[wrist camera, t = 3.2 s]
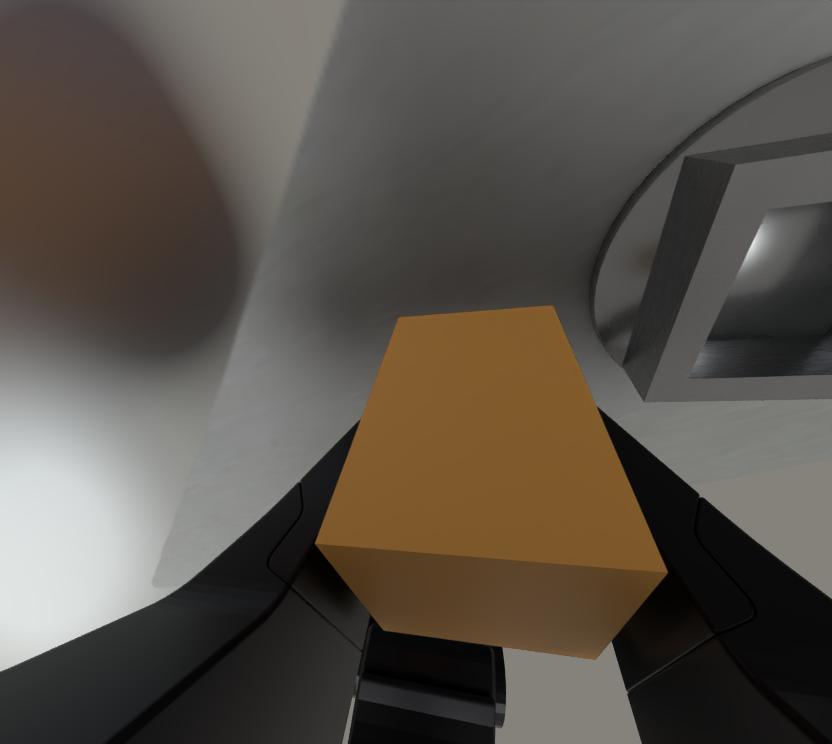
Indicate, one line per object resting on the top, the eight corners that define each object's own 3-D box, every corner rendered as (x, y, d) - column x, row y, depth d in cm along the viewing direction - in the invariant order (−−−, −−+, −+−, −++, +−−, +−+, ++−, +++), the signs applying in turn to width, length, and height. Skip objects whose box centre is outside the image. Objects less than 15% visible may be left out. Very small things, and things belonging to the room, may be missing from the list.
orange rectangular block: (540, 416, 10) (595, 659, 6) (420, 417, 11) (383, 630, 6) (552, 305, 8) (668, 573, 3) (398, 317, 9) (314, 544, 4)
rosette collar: (850, 376, 15) (930, 430, 12) (571, 384, 17) (589, 431, 15) (1197, -20, 7) (1580, -93, 5) (625, 95, 10) (678, 87, 7)
